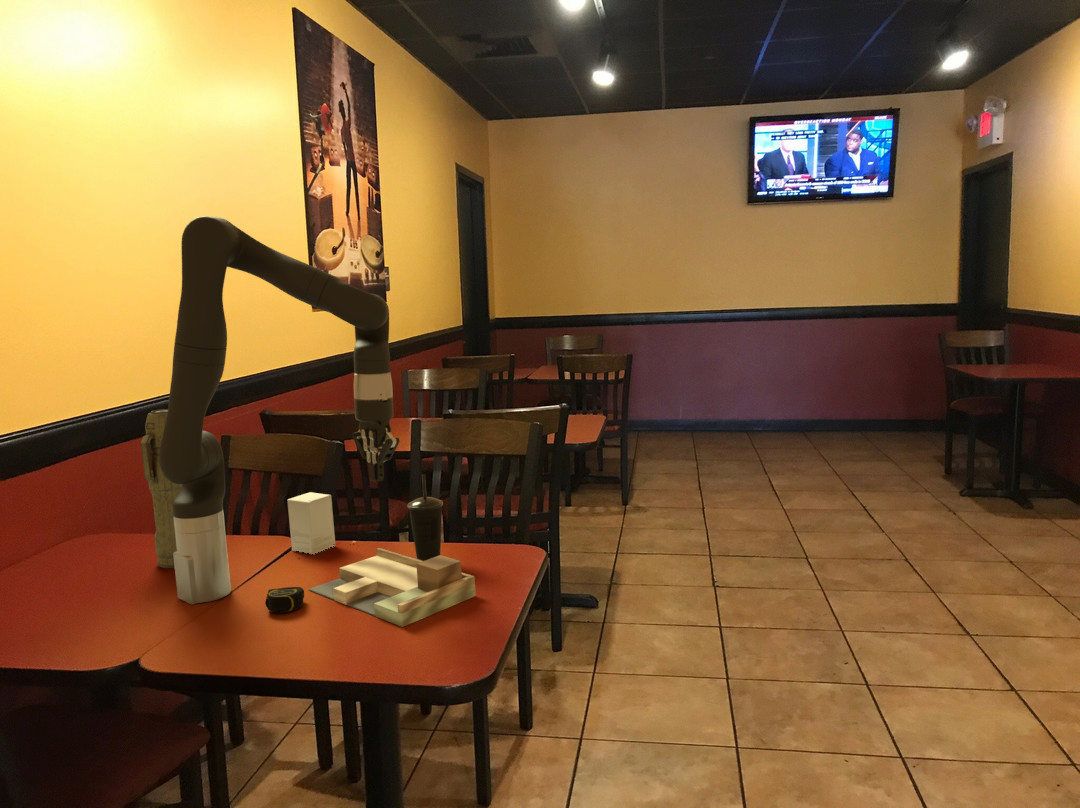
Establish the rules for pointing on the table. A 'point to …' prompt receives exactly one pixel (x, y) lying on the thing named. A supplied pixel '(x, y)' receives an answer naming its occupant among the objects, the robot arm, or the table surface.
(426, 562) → the walnut block
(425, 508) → the drinking cup
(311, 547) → the supplement box
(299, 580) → the table surface
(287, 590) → the tape measure
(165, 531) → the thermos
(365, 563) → the board
